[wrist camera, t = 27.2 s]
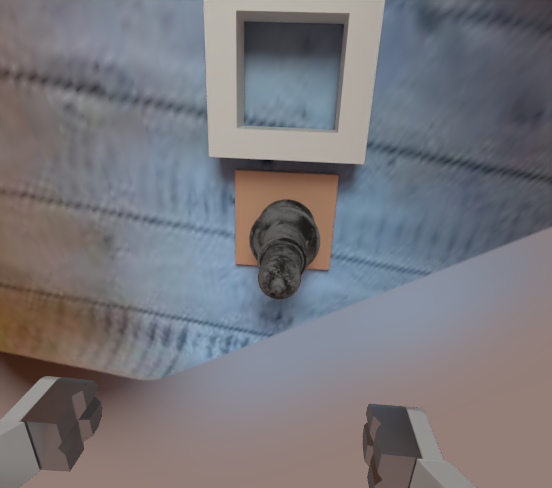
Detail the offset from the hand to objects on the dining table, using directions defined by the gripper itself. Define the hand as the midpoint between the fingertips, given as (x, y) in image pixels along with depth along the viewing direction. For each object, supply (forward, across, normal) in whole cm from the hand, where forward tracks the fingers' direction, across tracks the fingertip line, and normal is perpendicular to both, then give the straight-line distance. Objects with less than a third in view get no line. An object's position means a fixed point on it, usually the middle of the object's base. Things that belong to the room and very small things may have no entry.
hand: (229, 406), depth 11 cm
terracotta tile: (+23, 0, +2) cm, 23 cm away
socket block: (+23, 0, -10) cm, 25 cm away
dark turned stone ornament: (+23, -1, +2) cm, 23 cm away
